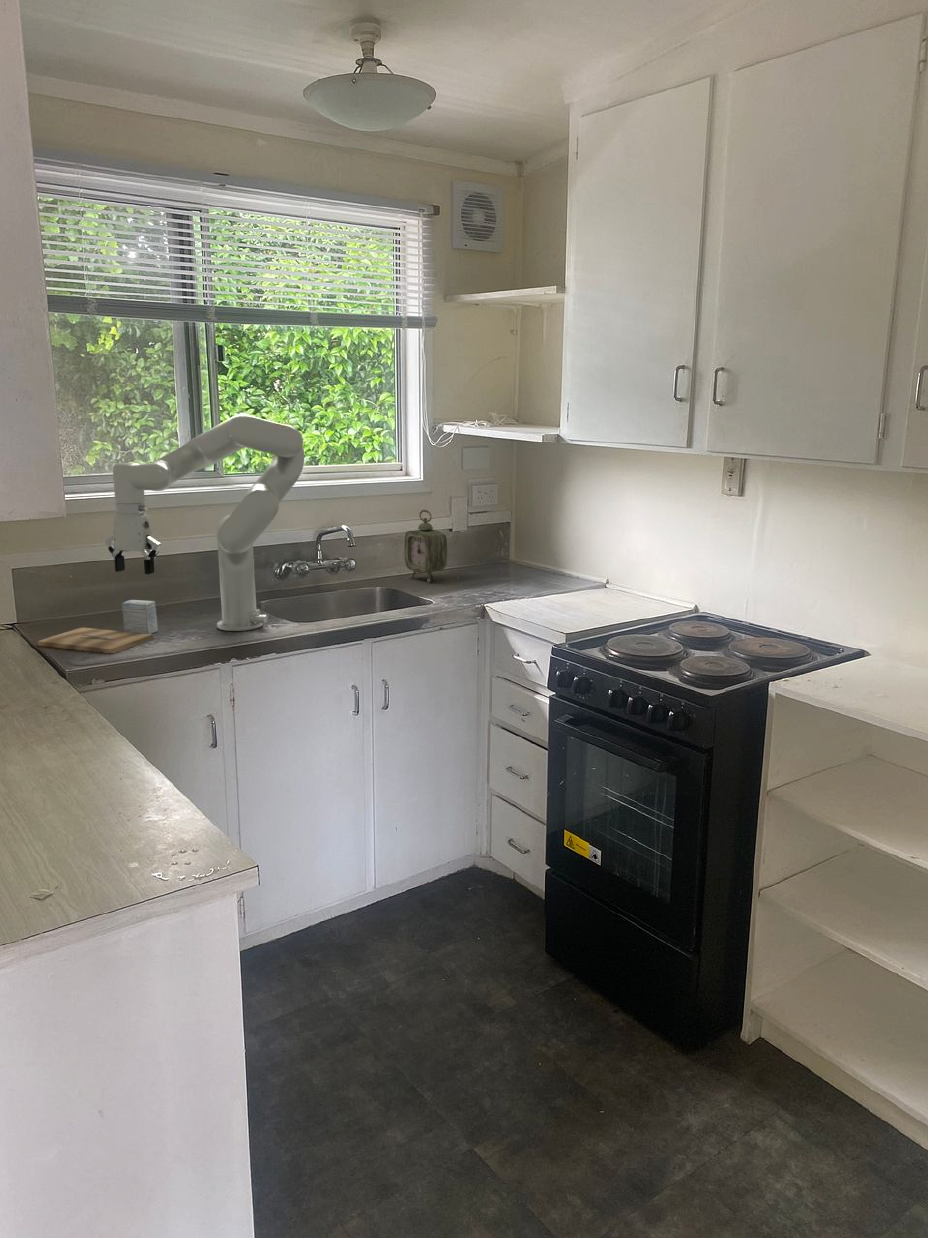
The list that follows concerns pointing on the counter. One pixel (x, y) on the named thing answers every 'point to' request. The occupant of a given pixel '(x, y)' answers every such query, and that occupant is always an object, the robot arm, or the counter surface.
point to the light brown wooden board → (95, 640)
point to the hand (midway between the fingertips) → (134, 572)
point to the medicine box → (139, 616)
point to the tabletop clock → (425, 549)
